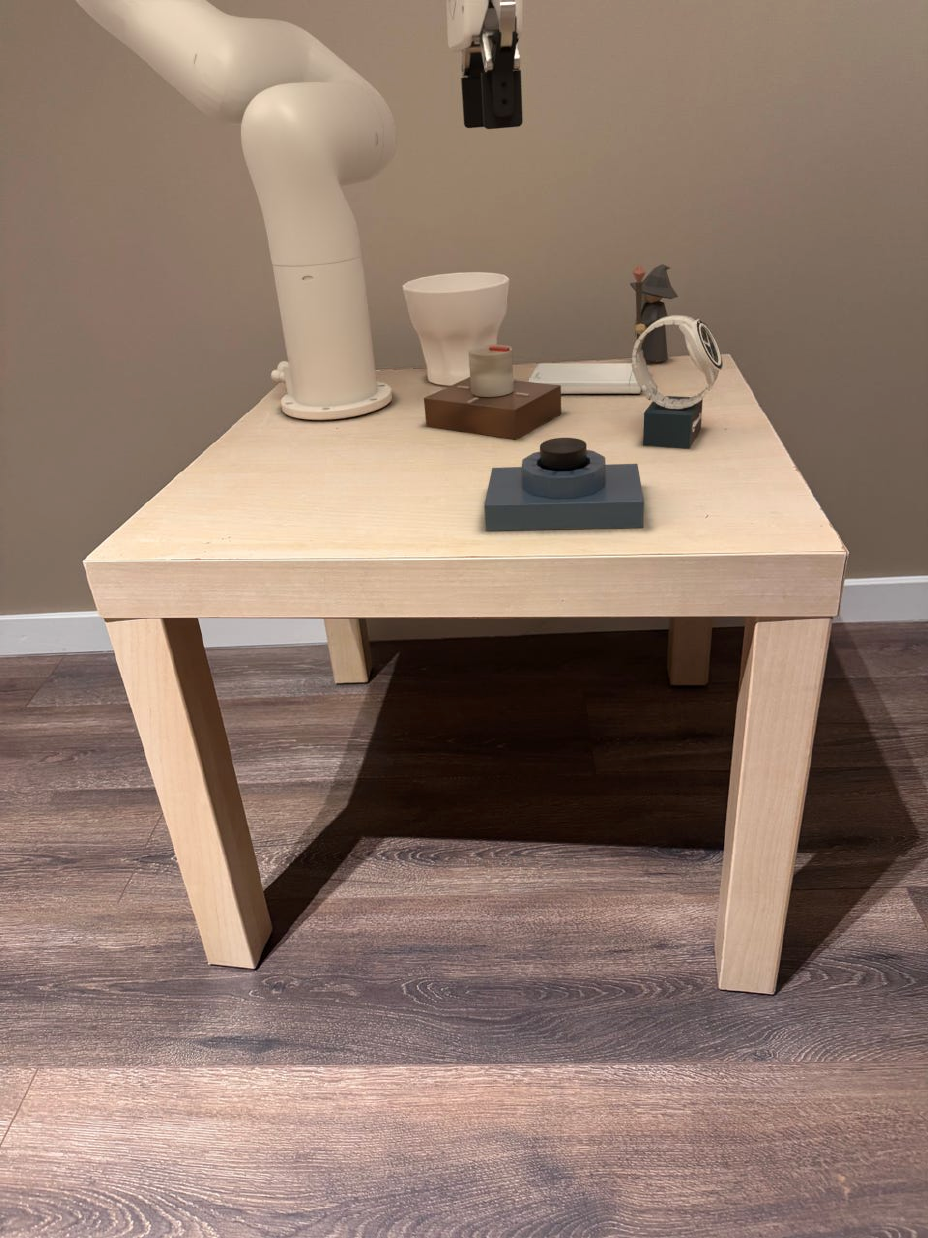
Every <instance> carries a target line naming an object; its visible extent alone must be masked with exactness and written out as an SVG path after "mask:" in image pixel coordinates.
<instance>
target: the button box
mask: <svg viewBox="0 0 928 1238" xmlns="http://www.w3.org/2000/svg"><path fill="white" fill-rule="evenodd" d="M638 464H639V463H616V464H615V463H610V464H607V463H606V457H605V456H603V455H602V454H600V453H598V452H596V451H595V450H591V449H587V466H586V467H584V468H582V469H578V470H574V471H558V472H556V471H550V470H544V469H542V468H541V467H540V451H536V452H532V453H531V454H529V455H527V456H526V457H524V458H522V460H521V466H513V467H512V466H510V467H509V466H507V467H506V466H505V467H492V468H491V472H490V476H489V482H488V485H487V491H486V496H485V500H484V505H483V506H484V507H483V508H484V522H485V531H486V532H493V531H494V532H497V531H498V532H499V531H545V530H547V531H549V530H551V531H552V530H553V531H554V530H593V529H594V530H596V529H643V528H644V517H645V514H644V513H645V499H644V493H643V488H642V481H641V476H640V469H639V465H638Z"/></svg>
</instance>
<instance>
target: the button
mask: <svg viewBox="0 0 928 1238" xmlns="http://www.w3.org/2000/svg"><path fill="white" fill-rule="evenodd" d="M587 448H588V447H587V442H586V441H584V440H582V439H579V438H575V437H556V438H550V439H547V440H544V441H542V442H541V444H540V445H539V452H540V467H541V468H542V469H544V470H550V471H556V472H558V471H574V470H578V469H582V468H584V467H586V466H587V450H588V449H587Z"/></svg>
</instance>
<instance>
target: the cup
mask: <svg viewBox="0 0 928 1238" xmlns="http://www.w3.org/2000/svg"><path fill="white" fill-rule="evenodd" d="M509 286H510V278H509V277H508V276H507V275H506V274H502V273H496V272H485V271H483V272H482V271H470V272H469V271H468V272H466V271H465V272H452V273H441V274H435V275H429V276H422V277H419V278H416V279H415V278H414V279H412V280H408V281H406V283H403V284H402V286H401V287H402V291H403V296H404V299H405V304H406V308H407V312H408V316H409V321H410V322H411V325H412V326H413V329H414V330H415V332H416V335H418V339H419V342H420V346H421V350H422V353H423V358H424V362H425V366H426V375H427V380H428V382H429V383H431V384H433V385H438V386H443V387H444V386H445V387H449V386H451V385H453V384H456V383H458V382H460V381H462V380H464V379H467V378H469V377H470V368H469V353H468V351H469V350H470V349H471V348H474V347H477V346H482V345H492V344H498V335H499V330H500V328H501V325H502V324H503V321H504V319H505V317H506V316H507V308H508V300H509V299H508V297H509V289H510V287H509Z"/></svg>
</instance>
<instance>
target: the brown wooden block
mask: <svg viewBox="0 0 928 1238" xmlns="http://www.w3.org/2000/svg"><path fill="white" fill-rule="evenodd" d="M513 381H514V391H513V392H512V393H510V394H507V395H503V396H498V397H479V396H475V395H473V394H472V393H471V383H470V377H469V378H467V379H464V380H462V381H460V382H458V383H456V384H453V385H451V386H446V387H445V388H442V389H441V390H438V391H436V392H433V393H432V394H430V395H427V396H425V397H423V402H424V414H425V416H424V417H425V425H426V427H429V428H434V429H435V428H436V429H443V430H450V431H456V432H461V433H462V432H463V433H467V434H468V433H469V434H476V435H483V436H488V437H496V438H503V439H509V440H518V439H520V438H522V437H523V436H525V435H527V434H529V433H530V432H532V431H534V430H536V429H538V428H539V427H541V426H542V425H544V424H546V423H547V422H550V421H551V420H553V419H554V418H556V417H558V416H560V415H562V394H561V385H553V384H544V383H535V382H528V381H524V380H517V379H515V378H513Z"/></svg>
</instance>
